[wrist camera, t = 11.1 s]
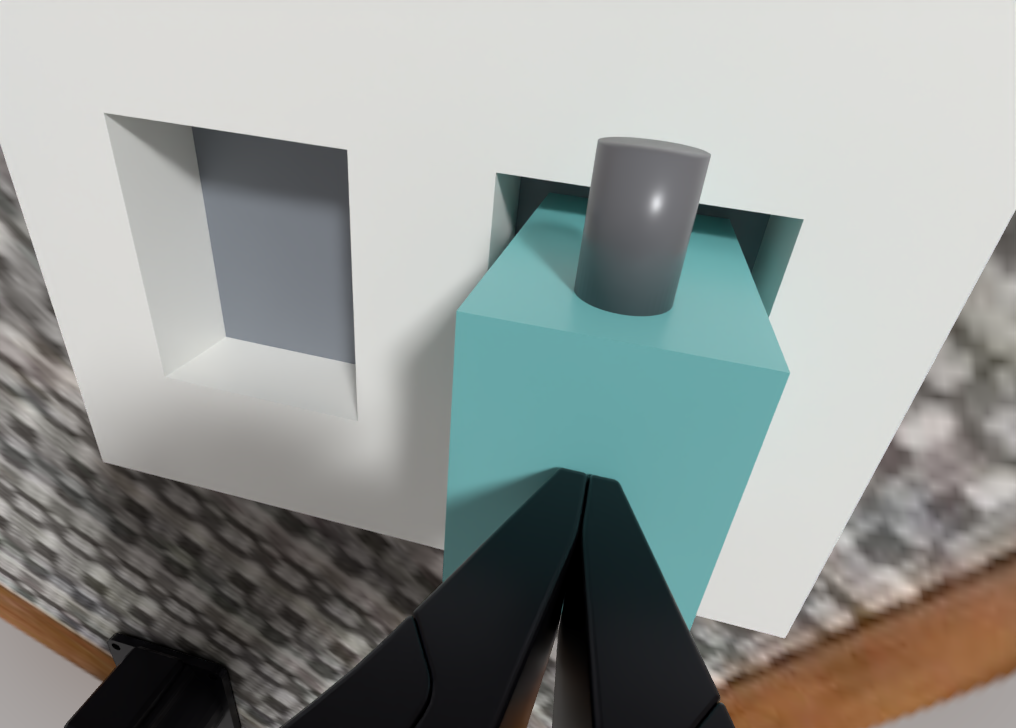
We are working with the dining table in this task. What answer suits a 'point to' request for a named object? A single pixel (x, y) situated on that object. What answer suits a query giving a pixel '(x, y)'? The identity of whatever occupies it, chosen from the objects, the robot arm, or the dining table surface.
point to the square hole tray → (490, 223)
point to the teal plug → (616, 363)
